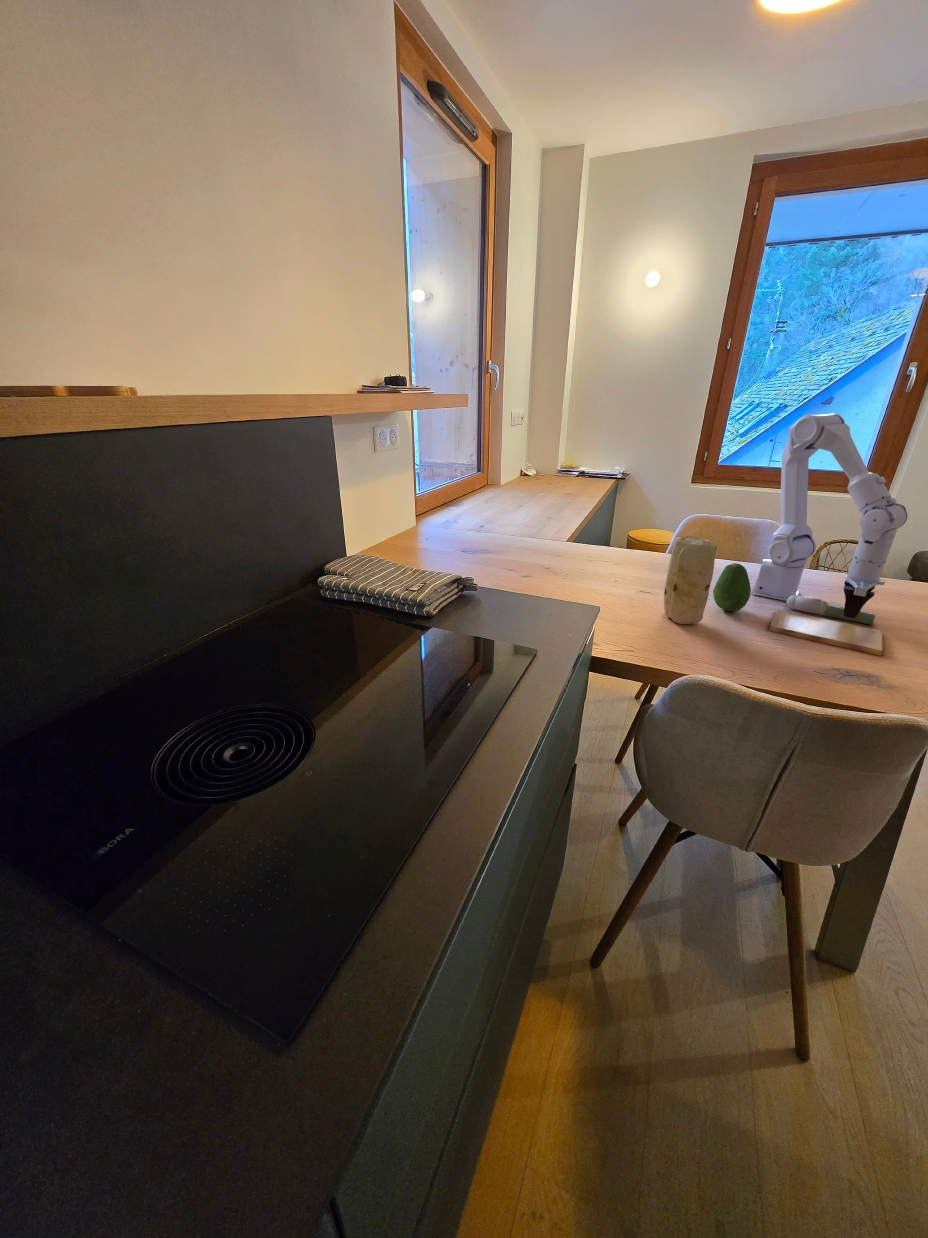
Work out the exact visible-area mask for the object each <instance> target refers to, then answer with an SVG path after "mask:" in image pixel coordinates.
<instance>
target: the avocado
mask: <svg viewBox="0 0 928 1238" xmlns="http://www.w3.org/2000/svg"><path fill="white" fill-rule="evenodd" d="M751 592H752V588H751V582H750V577H749V574H748V570H747V569H746V567H745V566H743V564H741V563H738V562H737V563H736V562H733V563H730V564H727V565H726V566H725V567H724V569H723V570H722V572H721V574H720V575H719V577H718V580H717V581H716V583H715V585H714V587H713V590H712V594H713V600H714V602H715V603H716V605H717V606H718V608H720V609H721V610H724V611H727V612H738V611H740V610H742V609H743V608H744V607H746V605H747V603H748V601H749V600H750V598H751Z"/></svg>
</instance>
